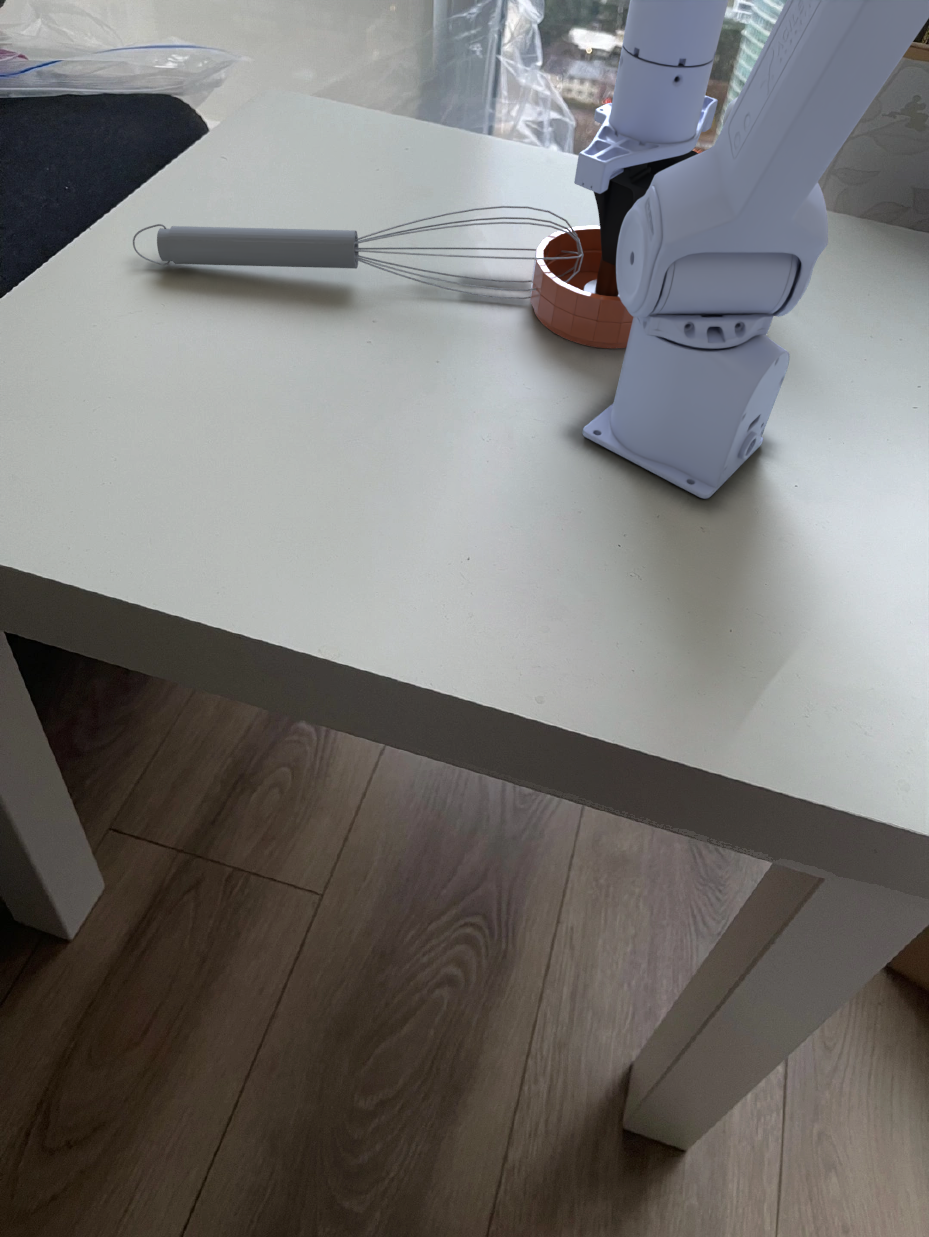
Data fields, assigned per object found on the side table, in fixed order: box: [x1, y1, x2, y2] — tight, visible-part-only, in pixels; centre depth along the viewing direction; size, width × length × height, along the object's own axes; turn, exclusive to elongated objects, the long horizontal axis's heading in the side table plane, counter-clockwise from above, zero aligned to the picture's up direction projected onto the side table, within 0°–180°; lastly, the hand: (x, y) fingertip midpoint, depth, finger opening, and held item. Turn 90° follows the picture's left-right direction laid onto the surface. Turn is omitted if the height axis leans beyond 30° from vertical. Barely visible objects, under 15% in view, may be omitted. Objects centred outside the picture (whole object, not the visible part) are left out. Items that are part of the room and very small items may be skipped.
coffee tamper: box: [583, 255, 620, 297], centre depth 69 cm, size 4×4×9 cm
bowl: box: [529, 224, 633, 350], centre depth 71 cm, size 11×11×4 cm
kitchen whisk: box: [132, 205, 584, 300], centre depth 71 cm, size 6×34×6 cm, turn 88°
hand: (624, 257), depth 69 cm, fingers closed on coffee tamper, 2 cm apart
